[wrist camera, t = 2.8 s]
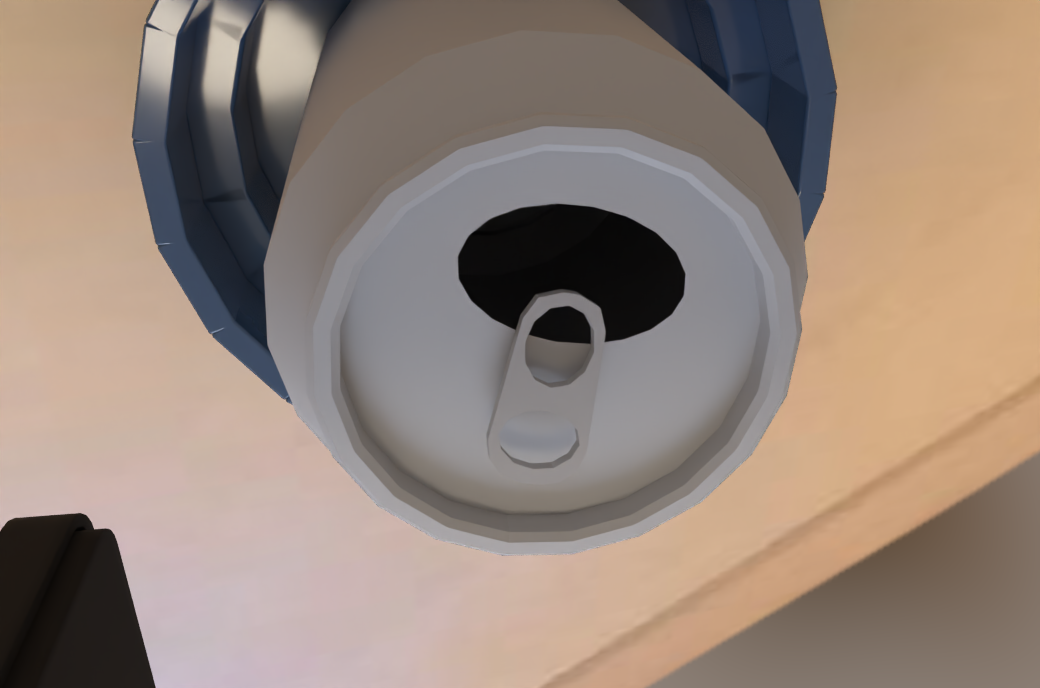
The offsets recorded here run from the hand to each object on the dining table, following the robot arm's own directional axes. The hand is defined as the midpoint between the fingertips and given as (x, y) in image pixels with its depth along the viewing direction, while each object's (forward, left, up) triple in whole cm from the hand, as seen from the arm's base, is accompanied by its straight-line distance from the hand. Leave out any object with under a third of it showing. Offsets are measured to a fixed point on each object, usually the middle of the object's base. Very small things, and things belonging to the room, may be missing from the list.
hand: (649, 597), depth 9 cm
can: (0, 0, -16) cm, 16 cm away
